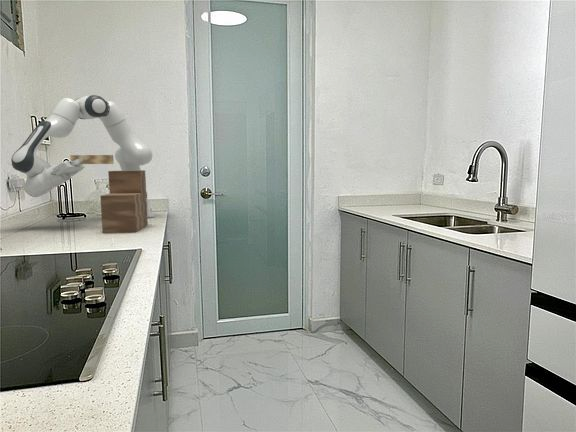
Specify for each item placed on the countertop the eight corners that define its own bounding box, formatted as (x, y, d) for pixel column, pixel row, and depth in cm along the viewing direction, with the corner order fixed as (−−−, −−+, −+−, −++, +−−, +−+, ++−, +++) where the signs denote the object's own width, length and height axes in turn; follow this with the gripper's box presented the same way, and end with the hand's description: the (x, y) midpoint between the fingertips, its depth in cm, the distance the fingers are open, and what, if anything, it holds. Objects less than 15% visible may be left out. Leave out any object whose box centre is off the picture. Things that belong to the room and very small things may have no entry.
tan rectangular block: (70, 164, 214) (70, 155, 213) (73, 164, 217) (72, 155, 216) (111, 163, 215) (111, 155, 214) (113, 163, 218) (113, 155, 217)
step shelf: (117, 225, 225) (114, 170, 222) (147, 225, 226) (145, 170, 223) (102, 233, 202) (99, 171, 199) (136, 232, 203) (133, 171, 200)
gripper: (44, 168, 204) (72, 152, 204) (63, 167, 225) (88, 153, 225) (52, 181, 205) (80, 164, 205) (70, 179, 225) (95, 164, 226)
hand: (84, 158), depth 215 cm, fingers closed on tan rectangular block, 3 cm apart
